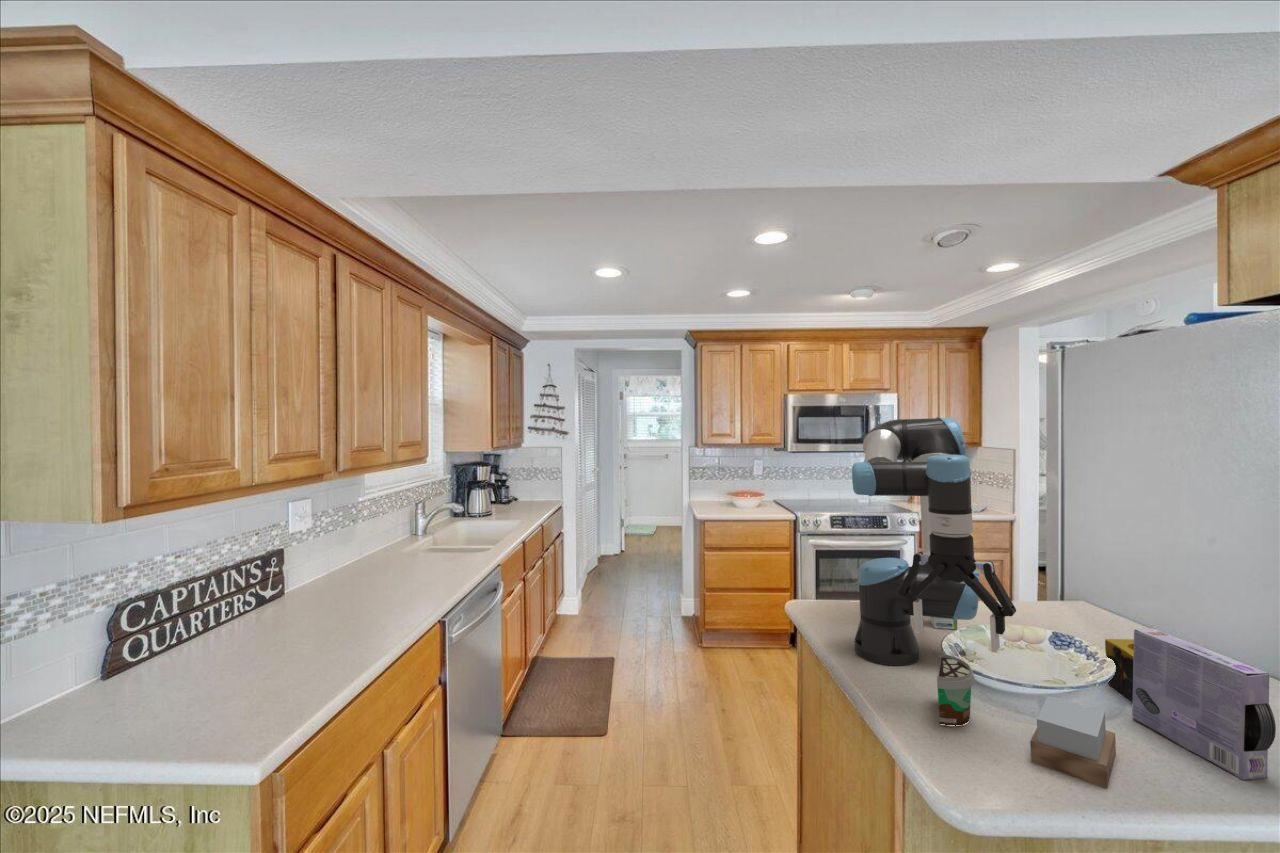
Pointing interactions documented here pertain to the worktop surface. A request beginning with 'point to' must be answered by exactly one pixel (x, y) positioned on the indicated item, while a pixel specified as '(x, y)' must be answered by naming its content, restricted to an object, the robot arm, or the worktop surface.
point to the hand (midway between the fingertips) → (955, 640)
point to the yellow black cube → (1121, 665)
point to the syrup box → (944, 623)
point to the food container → (954, 690)
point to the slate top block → (1071, 727)
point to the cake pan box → (1203, 702)
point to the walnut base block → (1077, 760)
